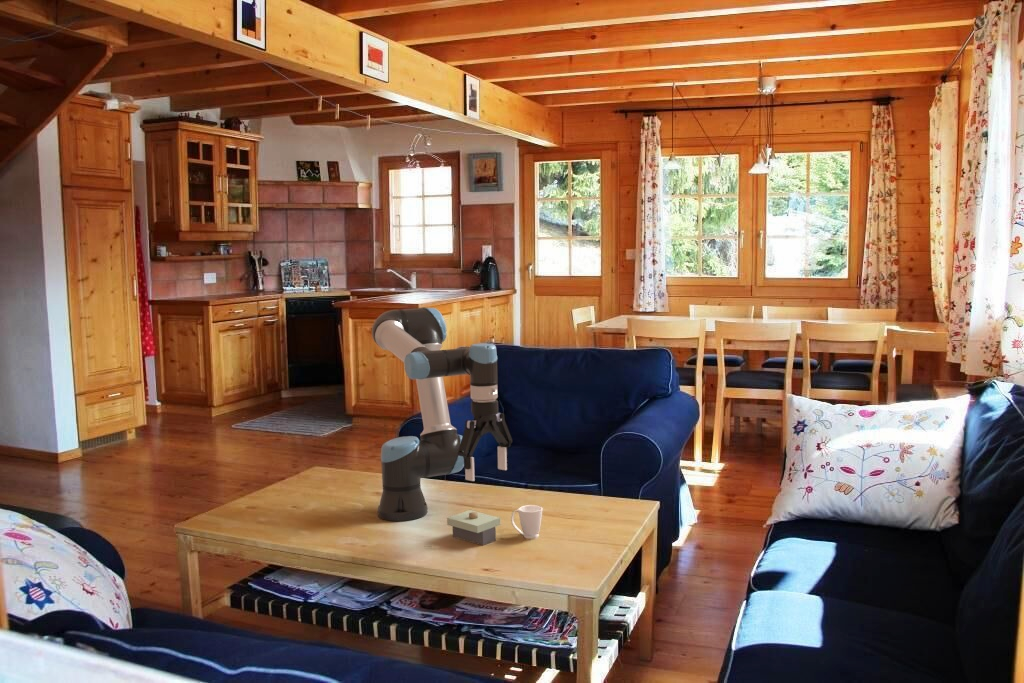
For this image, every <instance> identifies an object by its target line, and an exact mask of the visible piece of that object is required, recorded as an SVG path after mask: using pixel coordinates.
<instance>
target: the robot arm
mask: <svg viewBox="0 0 1024 683" xmlns="http://www.w3.org/2000/svg"><path fill="white" fill-rule="evenodd" d="M371 326H372V328H371V337H372V339H373V342H374V343H375V344H376V345H377V346H378V347H379V348H381V349H382V350H385V351H389V352H391V354H392V355H394V356H395V357H396V358H398V360H400V361H401V362H402V363H403V365H404V372H405V373H406V377H407V378H409V379H410V380H415V381H416V387H417V394H418V401H419V407H420V412H421V418H422V424H423V430H422V432H420V434H419V435H420V439H419V437H417V436H415V435H414V436H413V435H408V436H399V437H396V438H395V437H394V438H392V439H390V440H388V441H386V442H384V443H383V444H382V446H381V448H380V451H381V452H380V461H381V462H380V463H381V480H382V491H381V492H382V493H381V497H380V500H379V505H378V507H377V516H378V517H379V518H380V519H382V520H384V521H389V522H390V521H391V522H401V521H402V522H406V521H412V520H417V519H420V518H422V517H423V518H424V516H426V515H427V514H428V504H427V502H426V499H425V496H424V493H423V491H422V486H421V479H424V478H431V477H437V476H444V475H445V476H446V475H447V476H448V475H451V474H455V473H459V472H460V471H462V470H463V468H464V473H465V474H464V476H465V479H464V480H465V481H470V482H475V480H476V479H475V457H473V455H474V452H475V450H476V449H477V446H478V444H479V441H480V440H481V438H482V437H483V436H484V435H487V434H488V433H491V435H492V436H493V438H494V439H495V441H496V442H497V443H498V446H497V469H498V470H500V471H501V470H502V471H507V470H508V463H507V462H508V458H507V457H508V448H510V447H511V444H512V443H513V438H512V435H511V433H510V430H509V428H508V425H507V423H506V419H505V413H502V412H499V401H498V397H499V395H498V355H497V354H498V353H497V346H496V345H495V343H488V342H485V343H484V342H482V343H481V342H480V343H473V344H471V345H470V346H459V347H456V348H451V349H450V348H449V349H442V347H443V342H445V341H446V339H447V324H446V321H445V318H444V316H443V315H442V313H441V312H440V310H438V309H437V308H435V307H424V306H422V307H416V308H415V307H414V308H404V309H403V308H402V309H401V308H400V309H391V310H387V311H385V312H383V313H382V314H380V315H379V316H378V317H377V318H376V319H375V320H374V322H373V324H372V325H371ZM464 375H468V376H469V379H470V382H469V383H470V386H469V387H470V399H471V402H470V411H471V414H472V415H473V420H465V421H464V431H463V433H462V435H461V434H458V429H457V428H456V427H455V426H453V425H452V424H451V423H452V422H451V417H450V411H449V407H448V406H449V405H448V401H447V394H446V389H445V387H446V386H445V382H444V377H453V376H464Z"/></svg>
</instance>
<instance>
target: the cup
mask: <svg viewBox="0 0 1024 683" xmlns="http://www.w3.org/2000/svg"><path fill="white" fill-rule="evenodd" d="M516 512H518V516H519V521H520V523H519V524H520V526H521V529H520V528H519V527H518V526H517V525H516V523H515V521H514V520H515V513H516ZM542 517H543V507H542V506H539V505H537V504H527V505H522V506H520V507H518V509H515V510H512V513H511V516H510V518H511V520H510V521H511V525H512V526H513V528H514V529H515V530H516V532H518V533H519V534H520V535H522V536H523V538H525V539H527V540H528V539H529V540H531V539H532V540H533V539H538V538H539V537H540V534H539V533H540V530H541V524H542Z"/></svg>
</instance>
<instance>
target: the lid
mask: <svg viewBox="0 0 1024 683" xmlns="http://www.w3.org/2000/svg"><path fill="white" fill-rule="evenodd" d="M446 526H450V527H453V526H454V527H457V528H461V529H465V530H468V531H472V532H476V533H479V532H482V531H485V530H487V529H490V528H493V527H495V528H496V527H498V526H501V517H499V516H494V515H490V514H487V513H483V512H480V511H479V512H478V511H476V510H475V511H474V510H471V509H469V510H466V511H463V512H460V513H456V514H454V515H452V516H451V515H450V516H449V517H446Z"/></svg>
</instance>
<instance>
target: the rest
mask: <svg viewBox="0 0 1024 683" xmlns="http://www.w3.org/2000/svg"><path fill="white" fill-rule="evenodd" d="M496 535H497V534H496V527H493V528H490V529H487V530H485V531H482V532H479V533H476V532H472V531H468V530H465V529H461V528H457V527H454V526H452V537H453V538H457V539H460V540H463V541H466V542H471V543H473V544H477V545H480V546H486V545H488V544H491V543H493V542H496V541H497V536H496Z"/></svg>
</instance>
